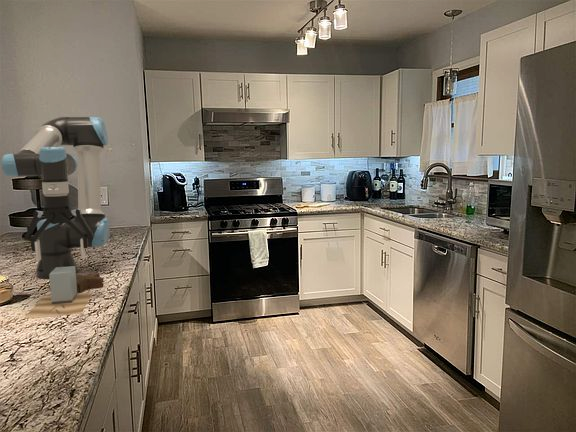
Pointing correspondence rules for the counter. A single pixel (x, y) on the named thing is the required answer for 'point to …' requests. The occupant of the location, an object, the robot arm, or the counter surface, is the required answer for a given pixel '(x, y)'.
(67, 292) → the grey rectangular block
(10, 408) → the counter surface
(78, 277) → the decorative item
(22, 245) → the counter surface
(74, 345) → the counter surface
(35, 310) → the board
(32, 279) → the counter surface
